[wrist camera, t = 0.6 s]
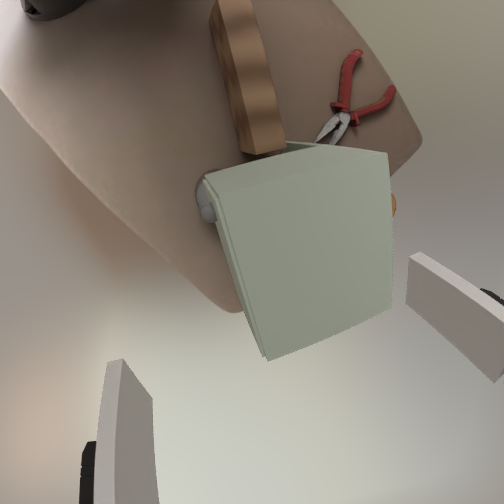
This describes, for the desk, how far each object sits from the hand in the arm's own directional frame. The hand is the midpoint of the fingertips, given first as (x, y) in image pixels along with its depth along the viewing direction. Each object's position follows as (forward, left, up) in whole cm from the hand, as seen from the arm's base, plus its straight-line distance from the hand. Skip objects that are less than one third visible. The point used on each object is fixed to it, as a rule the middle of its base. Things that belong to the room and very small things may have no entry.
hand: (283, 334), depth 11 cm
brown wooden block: (-15, +9, -34) cm, 38 cm away
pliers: (-10, +27, -35) cm, 45 cm away
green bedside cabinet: (+4, +7, -34) cm, 35 cm away
